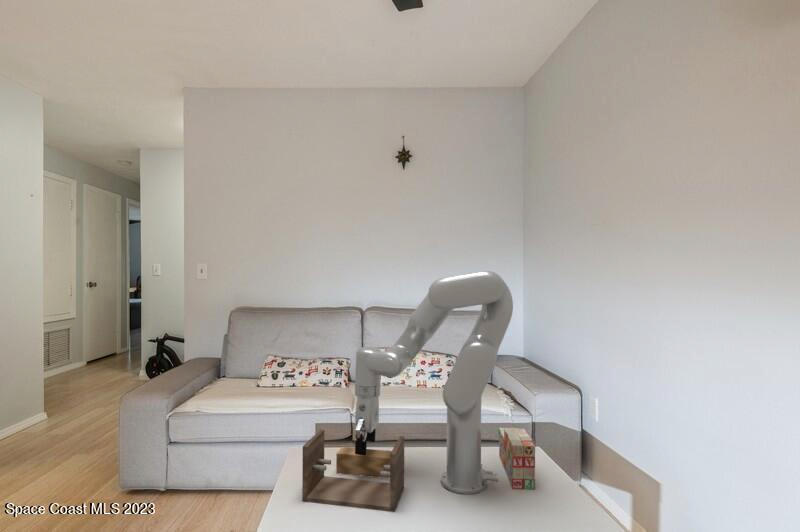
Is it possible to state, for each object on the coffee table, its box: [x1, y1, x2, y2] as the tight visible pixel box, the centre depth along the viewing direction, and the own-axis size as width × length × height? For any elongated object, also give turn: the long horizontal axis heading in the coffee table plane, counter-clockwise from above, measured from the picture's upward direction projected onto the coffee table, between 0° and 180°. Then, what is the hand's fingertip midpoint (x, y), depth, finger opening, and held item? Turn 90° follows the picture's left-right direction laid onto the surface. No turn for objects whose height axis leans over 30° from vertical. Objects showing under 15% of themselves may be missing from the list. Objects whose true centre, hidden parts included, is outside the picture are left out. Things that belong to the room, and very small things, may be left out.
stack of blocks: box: [498, 427, 536, 491], centre depth 128 cm, size 21×6×12 cm, turn 177°
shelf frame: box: [301, 429, 405, 512], centre depth 115 cm, size 24×12×14 cm, turn 78°
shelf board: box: [335, 446, 392, 479], centre depth 127 cm, size 18×5×6 cm, turn 78°
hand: (365, 447), depth 127 cm, fingers open, 9 cm apart
